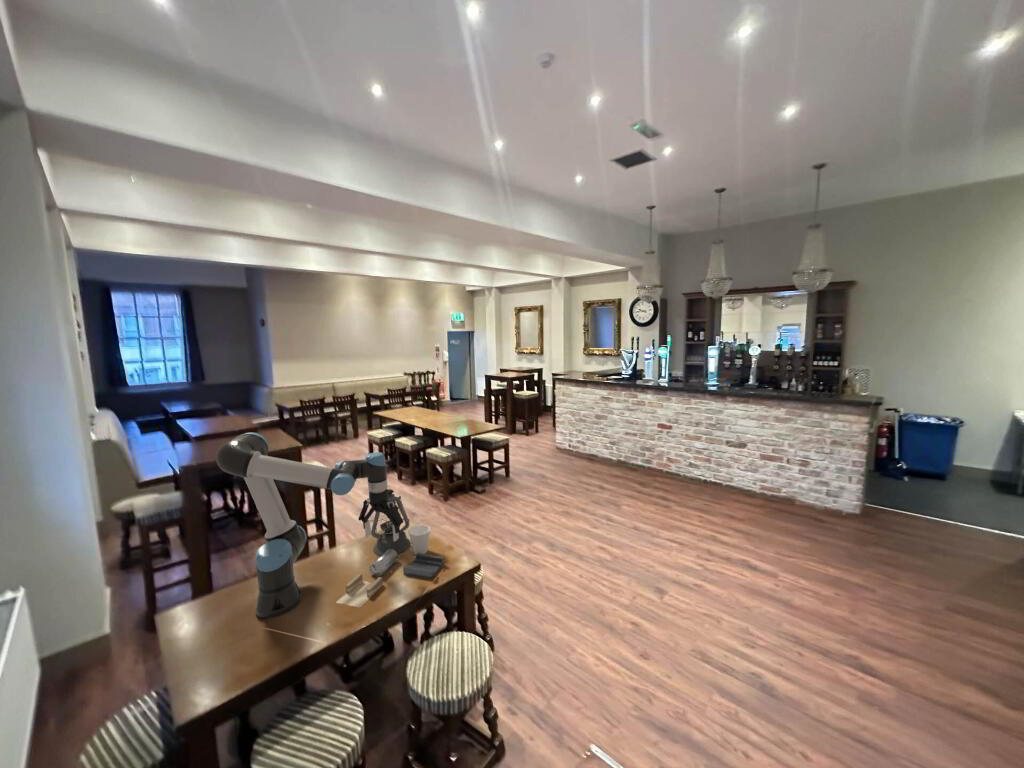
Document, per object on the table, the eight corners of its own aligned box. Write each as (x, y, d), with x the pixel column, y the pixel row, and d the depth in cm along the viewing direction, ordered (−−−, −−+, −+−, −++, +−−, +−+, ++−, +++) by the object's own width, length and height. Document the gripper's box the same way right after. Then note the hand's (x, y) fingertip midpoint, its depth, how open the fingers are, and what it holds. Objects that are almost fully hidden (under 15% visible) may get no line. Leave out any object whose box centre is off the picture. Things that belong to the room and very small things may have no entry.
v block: (403, 575, 169) (403, 567, 169) (417, 560, 180) (417, 553, 179) (431, 580, 165) (431, 572, 165) (444, 564, 176) (443, 557, 176)
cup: (426, 559, 181) (425, 536, 179) (405, 557, 183) (404, 534, 181) (434, 547, 190) (433, 525, 189) (415, 545, 192) (413, 523, 191)
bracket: (335, 603, 152) (334, 595, 152) (359, 581, 166) (358, 573, 165) (360, 608, 149) (359, 600, 149) (382, 585, 162) (382, 577, 162)
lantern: (393, 531, 206) (389, 475, 202) (419, 543, 194) (416, 483, 190) (362, 547, 192) (357, 487, 188) (388, 560, 180) (383, 497, 176)
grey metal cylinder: (371, 577, 169) (367, 564, 168) (387, 562, 180) (384, 549, 180) (383, 577, 167) (379, 563, 167) (399, 561, 179) (396, 548, 178)
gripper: (346, 490, 168) (351, 538, 171) (399, 496, 160) (403, 546, 163) (358, 484, 175) (362, 530, 178) (409, 488, 168) (412, 536, 171)
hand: (382, 537), depth 171 cm, fingers open, 13 cm apart
